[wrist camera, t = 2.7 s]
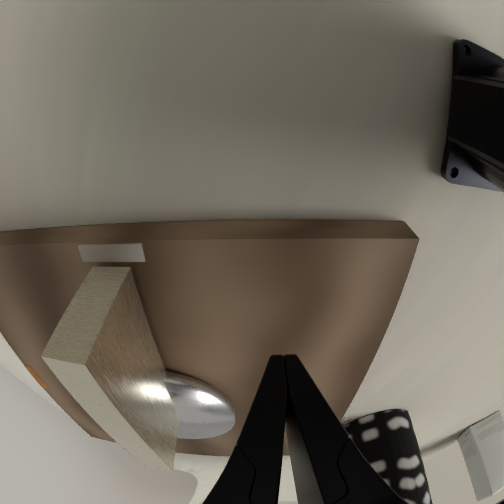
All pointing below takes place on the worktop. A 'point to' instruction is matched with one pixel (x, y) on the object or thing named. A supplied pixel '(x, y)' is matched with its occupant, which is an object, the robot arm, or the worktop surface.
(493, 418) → the skincare box
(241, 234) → the dial plate
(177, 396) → the cream block with dome
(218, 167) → the worktop surface
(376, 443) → the white-spotted black cylinder
